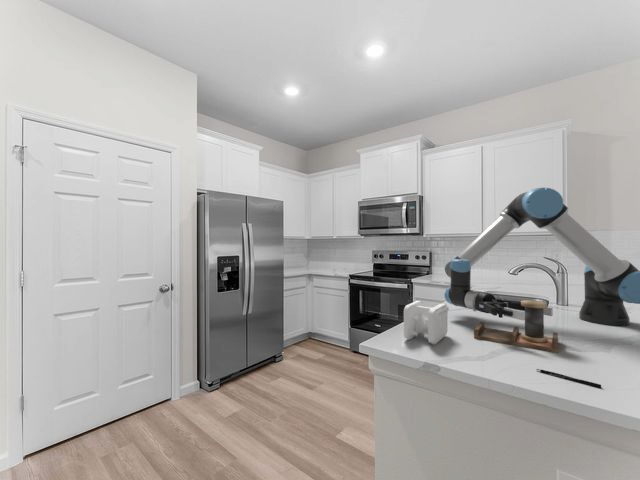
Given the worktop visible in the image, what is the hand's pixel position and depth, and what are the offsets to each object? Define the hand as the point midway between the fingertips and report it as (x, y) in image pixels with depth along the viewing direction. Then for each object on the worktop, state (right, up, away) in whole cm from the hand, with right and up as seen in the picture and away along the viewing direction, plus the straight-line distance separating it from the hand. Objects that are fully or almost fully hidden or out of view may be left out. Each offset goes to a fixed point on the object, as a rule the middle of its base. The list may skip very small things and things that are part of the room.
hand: (538, 314), depth 97 cm
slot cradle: (-5, -10, +5) cm, 12 cm away
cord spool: (0, -9, +1) cm, 9 cm away
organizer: (-33, -10, +7) cm, 35 cm away
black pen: (-10, -10, -24) cm, 28 cm away
